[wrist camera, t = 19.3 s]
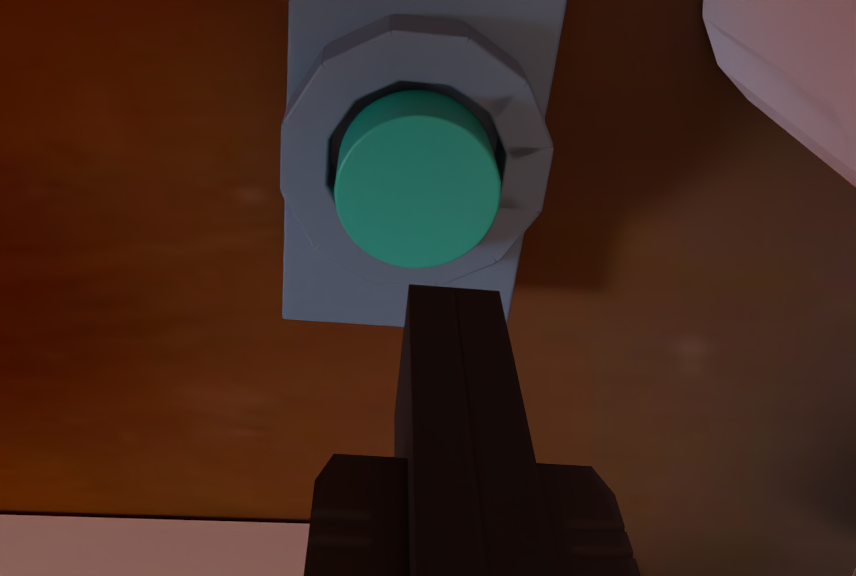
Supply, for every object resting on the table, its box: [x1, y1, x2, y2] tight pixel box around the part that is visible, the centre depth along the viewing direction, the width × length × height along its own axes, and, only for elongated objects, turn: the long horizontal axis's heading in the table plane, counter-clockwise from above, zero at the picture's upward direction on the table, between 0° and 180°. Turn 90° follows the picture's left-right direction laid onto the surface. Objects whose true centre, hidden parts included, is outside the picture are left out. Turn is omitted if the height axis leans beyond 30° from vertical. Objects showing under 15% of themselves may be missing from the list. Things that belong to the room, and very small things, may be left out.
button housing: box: [280, 0, 567, 327], centre depth 23 cm, size 7×12×5 cm, turn 174°
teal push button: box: [334, 90, 501, 269], centre depth 20 cm, size 4×4×2 cm
